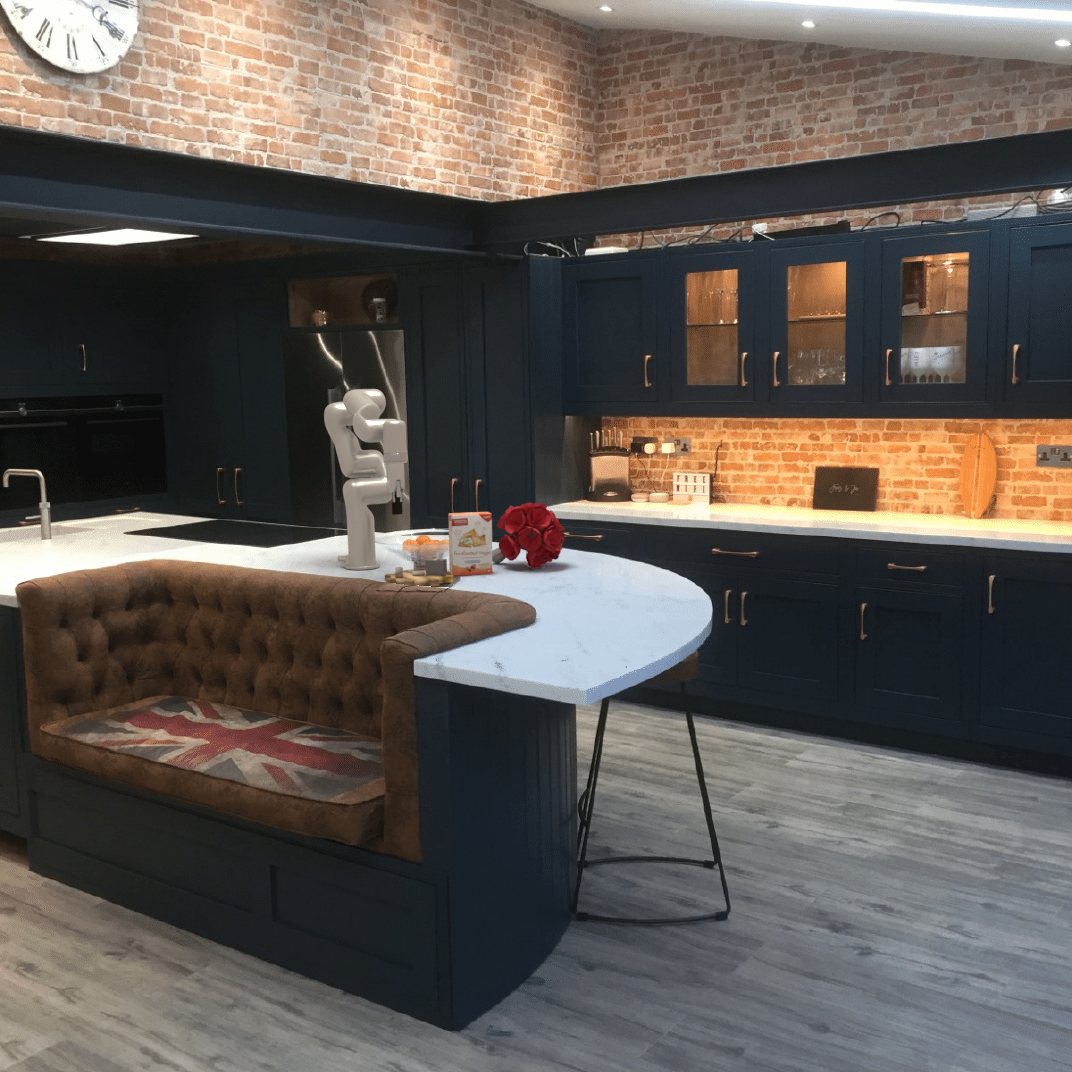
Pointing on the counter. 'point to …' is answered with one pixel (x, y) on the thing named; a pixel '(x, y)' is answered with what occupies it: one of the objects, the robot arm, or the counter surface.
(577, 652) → the counter surface
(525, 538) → the bouquet
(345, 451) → the robot arm
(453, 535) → the cracker box
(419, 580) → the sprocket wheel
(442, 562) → the grey small block
